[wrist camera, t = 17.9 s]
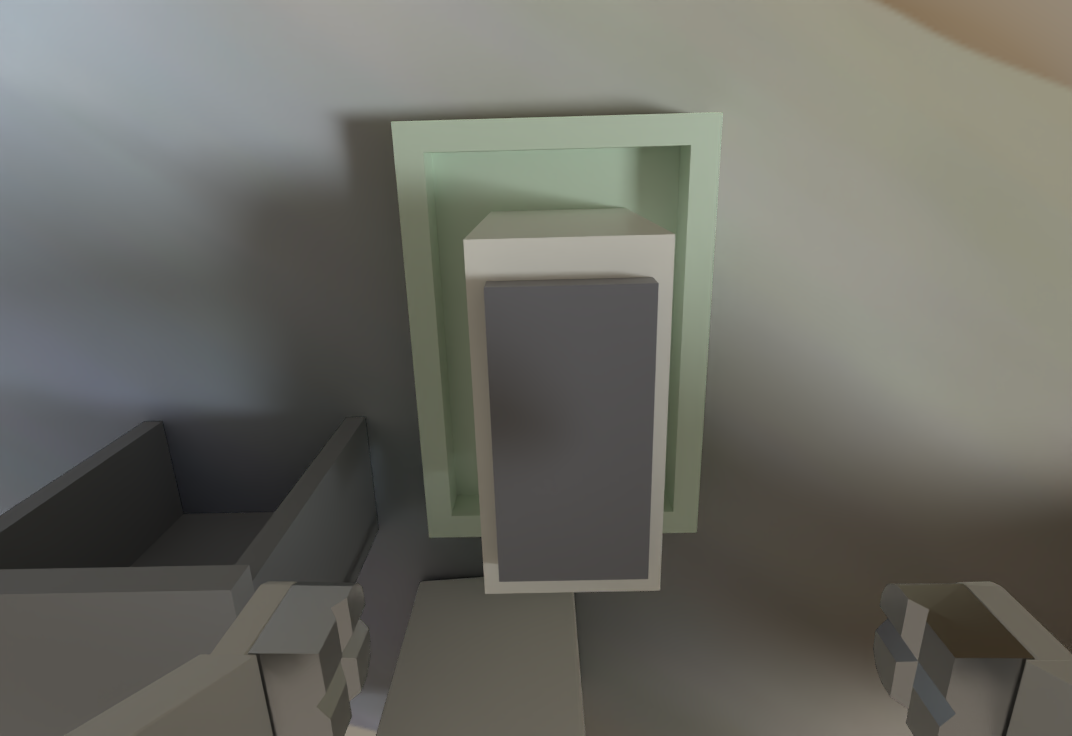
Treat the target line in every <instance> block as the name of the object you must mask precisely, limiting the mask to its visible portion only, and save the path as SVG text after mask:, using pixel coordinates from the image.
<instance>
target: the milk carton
mask: <svg viewBox="0 0 1072 736" xmlns="http://www.w3.org/2000/svg"><path fill="white" fill-rule="evenodd" d="M376 736H586V734H585V722H584V709H583V697H582V684H581V672H580V660H579V648H578V635H577V623H576V611H575V599H574V592H559V593H505V594H485V586H484V577H476V578H462V579H448V580H434V581H422V582H420V584H419V587H418V590H417V594H416V597H415V601H414V604H413V608H412V611H411V615H410V618H409V622H408V625H407V629H406V632H405V636H404V639H403V643H402V646H401V650H400V653H399V657H398V660H397V664H396V667H395V671H394V674H393V678H392V681H391V685H390V688H389V692H388V695H387V699H386V702H385V706H384V709H383V713H382V716H381V720H380V723H379V727H378V730H377V734H376Z"/></svg>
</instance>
